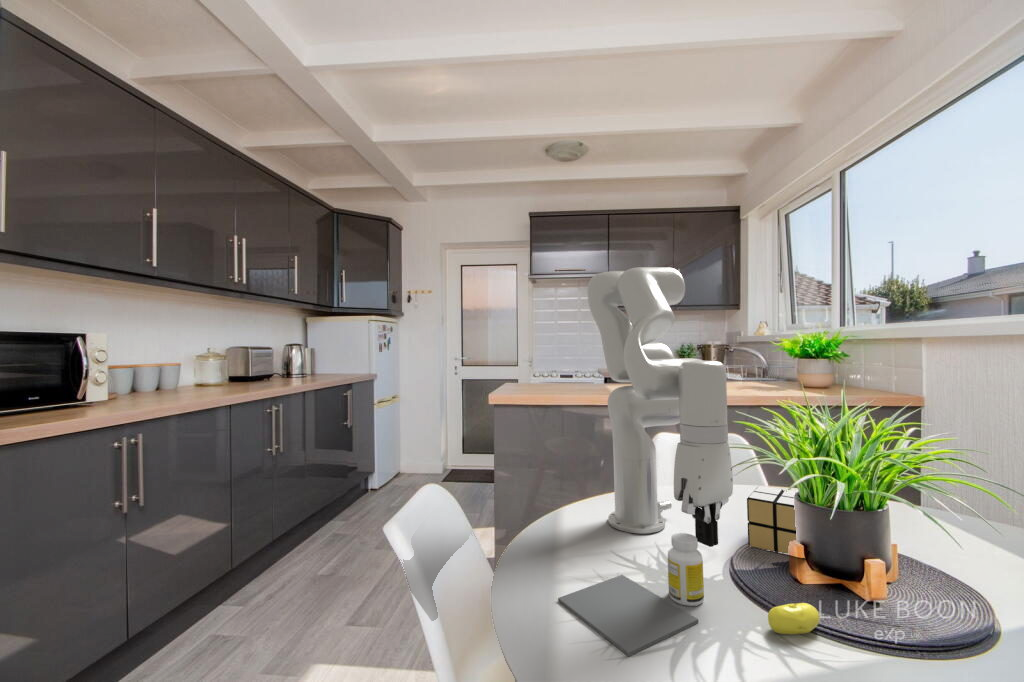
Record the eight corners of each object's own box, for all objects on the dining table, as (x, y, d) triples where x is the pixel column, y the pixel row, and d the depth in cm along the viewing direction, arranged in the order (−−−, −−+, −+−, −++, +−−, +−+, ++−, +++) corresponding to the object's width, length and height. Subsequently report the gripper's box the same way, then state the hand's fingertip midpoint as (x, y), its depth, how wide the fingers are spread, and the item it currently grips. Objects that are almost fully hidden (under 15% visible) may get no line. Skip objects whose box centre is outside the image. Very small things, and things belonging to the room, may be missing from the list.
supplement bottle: (706, 594, 77) (704, 534, 77) (701, 610, 72) (699, 547, 73) (672, 586, 80) (670, 528, 80) (665, 601, 75) (663, 540, 75)
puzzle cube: (759, 531, 102) (757, 485, 102) (813, 542, 96) (812, 493, 96) (747, 547, 94) (746, 497, 94) (806, 560, 88) (804, 507, 88)
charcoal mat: (622, 577, 83) (622, 574, 83) (698, 622, 69) (698, 619, 69) (558, 601, 76) (558, 597, 76) (628, 656, 62) (628, 652, 62)
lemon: (759, 625, 69) (759, 598, 69) (808, 619, 70) (807, 593, 70) (780, 643, 64) (779, 615, 64) (831, 636, 66) (831, 608, 66)
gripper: (712, 426, 86) (715, 526, 86) (655, 436, 78) (658, 546, 78) (751, 432, 80) (754, 540, 79) (692, 443, 72) (696, 563, 72)
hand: (706, 542), depth 79 cm, fingers closed
